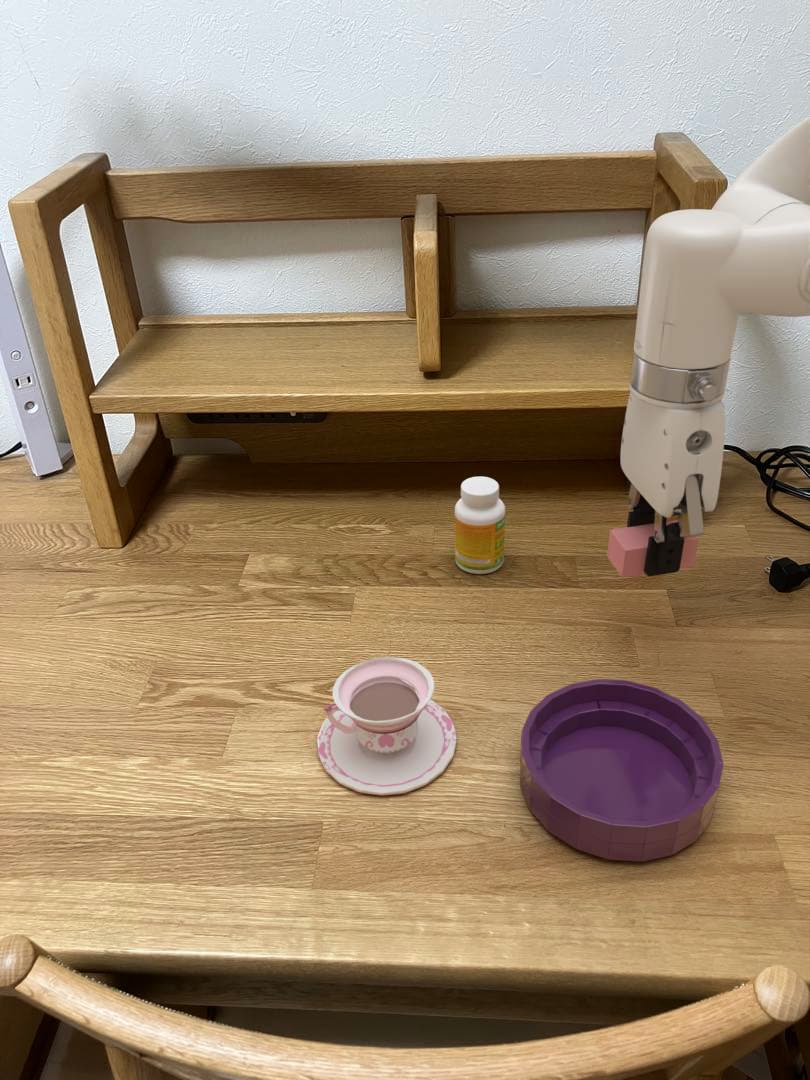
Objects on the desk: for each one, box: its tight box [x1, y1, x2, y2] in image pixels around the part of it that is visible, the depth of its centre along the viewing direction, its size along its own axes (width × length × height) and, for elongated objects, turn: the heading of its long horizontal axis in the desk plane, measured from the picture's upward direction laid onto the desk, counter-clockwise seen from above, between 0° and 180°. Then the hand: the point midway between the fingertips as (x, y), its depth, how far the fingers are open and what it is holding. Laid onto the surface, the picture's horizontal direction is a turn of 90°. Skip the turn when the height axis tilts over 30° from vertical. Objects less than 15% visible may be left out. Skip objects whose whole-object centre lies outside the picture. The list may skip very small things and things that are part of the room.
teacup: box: [316, 656, 458, 796], centre depth 75 cm, size 12×12×6 cm
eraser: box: [606, 519, 699, 578], centre depth 82 cm, size 7×4×3 cm, turn 102°
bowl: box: [519, 678, 724, 862], centre depth 71 cm, size 15×15×4 cm
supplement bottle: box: [454, 476, 506, 575], centre depth 96 cm, size 5×5×10 cm
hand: (651, 557), depth 83 cm, fingers closed on eraser, 3 cm apart
